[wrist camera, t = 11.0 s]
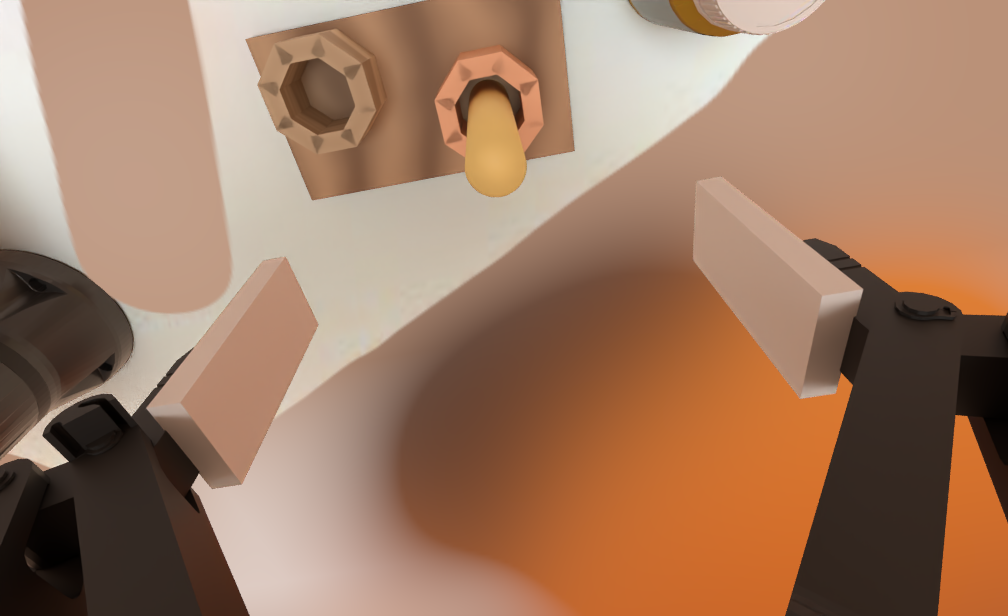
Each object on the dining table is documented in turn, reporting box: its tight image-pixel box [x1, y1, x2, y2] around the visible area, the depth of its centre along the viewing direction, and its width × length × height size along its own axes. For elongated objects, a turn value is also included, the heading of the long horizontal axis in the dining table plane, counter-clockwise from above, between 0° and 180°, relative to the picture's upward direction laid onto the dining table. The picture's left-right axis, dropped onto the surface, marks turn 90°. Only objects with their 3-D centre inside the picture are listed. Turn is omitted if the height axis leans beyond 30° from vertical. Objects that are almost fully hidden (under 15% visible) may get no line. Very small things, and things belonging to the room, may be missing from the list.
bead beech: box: [258, 29, 387, 154], centre depth 34 cm, size 7×7×4 cm
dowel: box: [465, 79, 527, 197], centre depth 30 cm, size 3×3×16 cm
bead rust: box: [434, 45, 544, 157], centre depth 35 cm, size 7×7×4 cm
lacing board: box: [246, 0, 575, 200], centre depth 37 cm, size 22×12×1 cm, turn 100°
